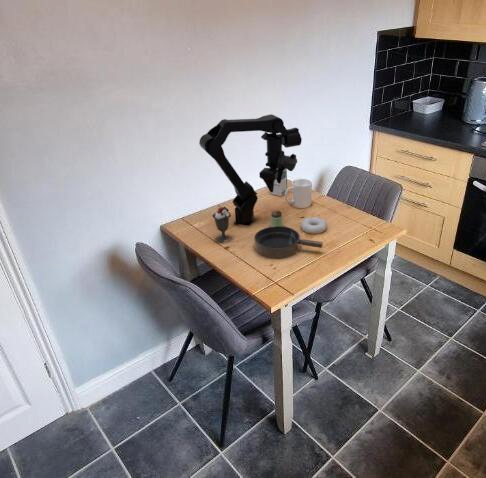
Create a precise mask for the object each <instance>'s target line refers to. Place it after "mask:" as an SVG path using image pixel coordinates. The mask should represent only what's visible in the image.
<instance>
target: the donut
mask: <svg viewBox="0 0 486 478" xmlns="http://www.w3.org/2000/svg"><path fill="white" fill-rule="evenodd" d="M300 228H301V230H302V231H303V232H304V233H306V234H310V235H318V234H321V233H324V232H325V231H326V230H327V228H328V223H327V221H326V220H325V219H323V218H321V217H316V216H313V217H312V216H311V217H307V218H305V219H303V220H302V222H301V223H300Z"/></svg>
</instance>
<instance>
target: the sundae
mask: <svg viewBox="0 0 486 478" xmlns="http://www.w3.org/2000/svg"><path fill="white" fill-rule="evenodd" d="M231 215H232V214H231V212H230V211H229V209H228V208H227V207H226V206H221V205H220V204H219V205H218V208H217V210H216V212H214V213H213V214H212V217H211V218H213V219H214V221H215V226H216V229H217V230H218V231H219V232H221V236H218V237H217V239H216V241H217V242H218V243H221V244H223V243H224V242H225V241H228V240H229V235H226V231H227V230H228V229H229V222H230V218H231Z"/></svg>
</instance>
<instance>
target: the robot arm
mask: <svg viewBox="0 0 486 478" xmlns="http://www.w3.org/2000/svg"><path fill="white" fill-rule="evenodd" d="M259 131H260V132H263V134H262V135H261V136H260V138H261V139H262V140H264V141H266V152H265V153H264V155H265V157H266V158H267V159H266V160H267V161H266V163H265V167H264V168H263V169H262V170H260V172H259V175H258V176H259V178H260V179H261V180H262V181H263V182H264V183H265V185H266V187H267V189H268V191H269V192H270V193H271V192H273V189H274V181H275V180H277V182H278V183H281V179H282V175H283V171H284V169H285V168H286V169H287V171H289V172H293V170H294V169H295V168H296V166H297V164H298V159H297V154H295V153H292V154H290V155H285V150H283V147H284V148H285V149H287V148H293V147H299V146H301V145H302V136H301V133H300V129H299V128H298V127H292V128H286V126H285V123H284V120H283V119H282V117H281V118H280V117H279V116H277V115H274V114H272V113H271V114H266V115H262V116H260V117H257V118H239V119H227V118H223V119H221V120H220V121H219V122H218V123H217V124H216V125H215V126H213V127H212V128H210V129H209V130H208V131H207V132H206V133H205V134H203V135H202V136H200V138H199V142H198V143H199V146H200V148H201V149H202V150H203V151H204V152H206V153H207V154H208V155H209V156H210V157H211V158H212V159H213V160H214V161H215V162H216V164H217V165H218V167H219V168H220V169H221V171H222V172H223V174H224V175H225V177H226V178H227V179H228V180H229V182H230V183H231V184H232V186H233V188H234V191H235V195H236V196H235V197H234V198H233V200H232V204H233V205H234V206H235V207H234V216H235V217H234V219H235V221H234V222H233V225H235V226H246V227H249V226H251V224H253V223H254V221H255V212H254V209H255V205H256V204H257V202H258V193H257V192H256V191H255V189H254V187H253V186H252V185H251V184H250V183H249V182H248V181H247V180H246V181H243V179H242V178H241V177H240V175H239V174H238V173H237V171H236V170H235V168H234V167H233V165H232V164H231V162H230V161H229V159H228V158H227V156H226V155H225V152H224V148H223V145H224V144H225V143H226V141H227V140H228V138H229V135H230V134H231V133H239V132H240V133H241V132H259ZM269 167H270V168H269Z"/></svg>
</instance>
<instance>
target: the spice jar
mask: <svg viewBox="0 0 486 478" xmlns="http://www.w3.org/2000/svg"><path fill="white" fill-rule="evenodd" d="M283 216H284V215H283V213H282V211H281V210H272V211H271V212H270V227H273V226H283V227H284V221H283V219H284V218H283Z"/></svg>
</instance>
